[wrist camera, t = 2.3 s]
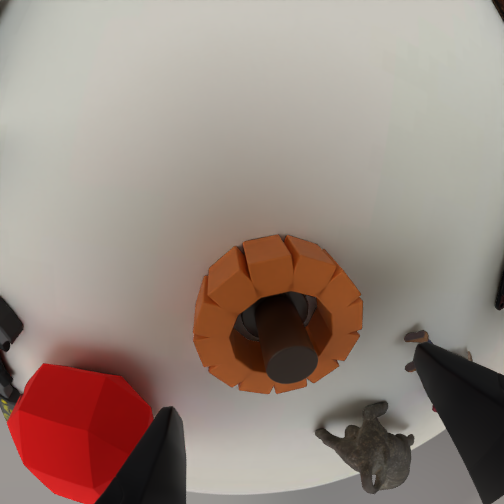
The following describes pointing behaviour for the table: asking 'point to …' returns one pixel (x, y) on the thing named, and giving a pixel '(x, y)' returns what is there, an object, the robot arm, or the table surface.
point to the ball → (77, 429)
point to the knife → (3, 333)
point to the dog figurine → (373, 450)
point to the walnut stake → (282, 336)
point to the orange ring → (266, 284)
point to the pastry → (499, 6)
